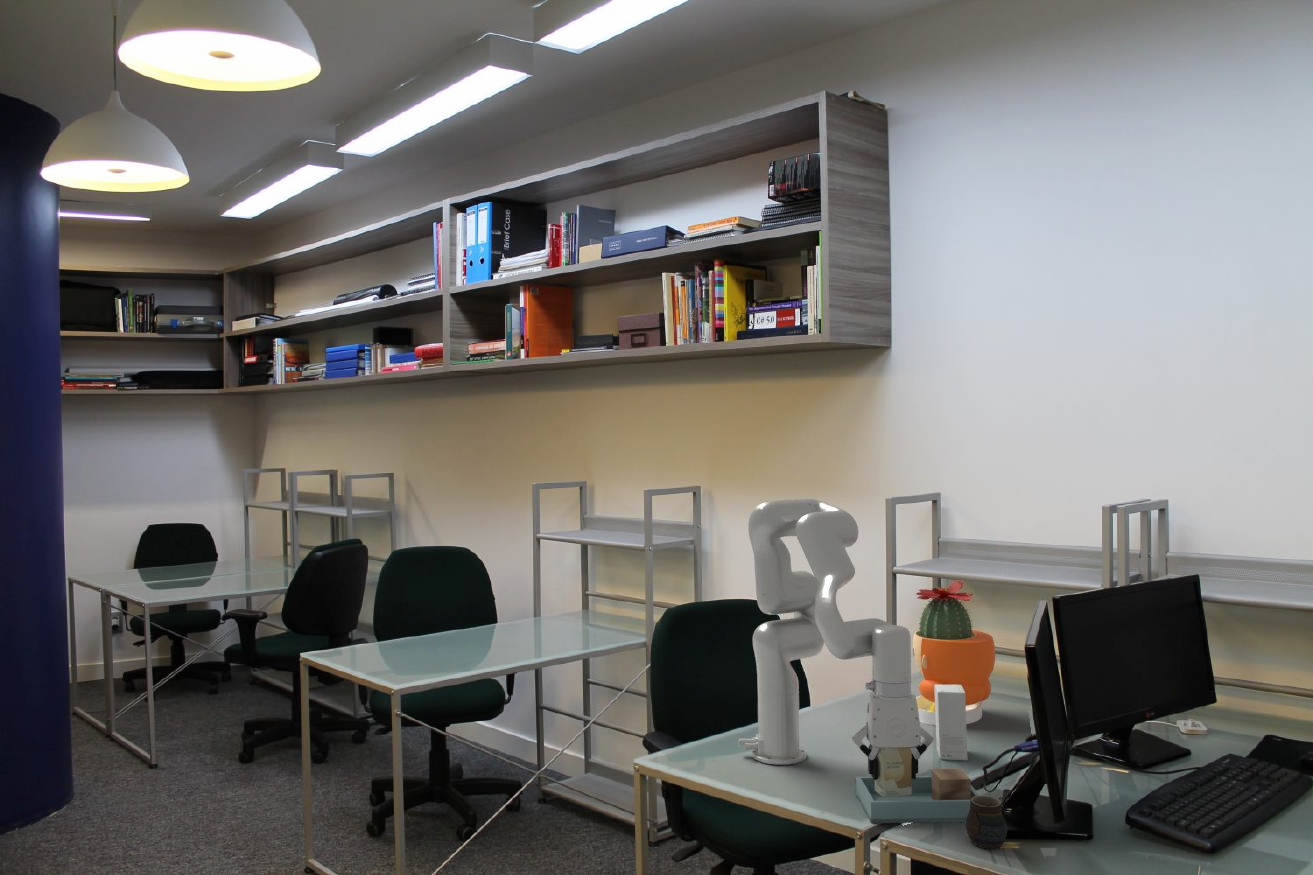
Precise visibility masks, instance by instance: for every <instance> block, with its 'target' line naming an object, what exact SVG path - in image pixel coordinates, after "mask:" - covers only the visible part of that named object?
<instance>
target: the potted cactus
mask: <svg viewBox="0 0 1313 875" xmlns="http://www.w3.org/2000/svg"><path fill="white" fill-rule="evenodd" d="M963 585H964V582H962V581H961V580H954V581H953V583H951V584H950V585H949V586H946V587H945V588H944V587H943V586H941V588H940V586H938V587H937V588H935V587H934V588H931V589H918V591H919V592H916V593H915V595H916V596H918V597H917V599H919V600H922V601H923V600H927V601H928V602H927V604H926V605H925V607H921V609H922V612H919V614H920V615H921V617H919V616H918V622H917V625H919V627H918V629H917V630H916V631H914V634H913V638H912V639H913V642H912V651H913V657H914V660H915V663H916V665H917V668H918V670H919V672H920V673H921V674H922V676H923V678H924V679H923V680H922V681H921V682H920V683H919V686H918V690H919V692H920V694H921V695H919V696H918V695H917V696H916V700H917V705H918V712H919V721H920V723H922V724H925V725H931V726H936V718H935V688H934V687H935V685H962V687H963V689H964V692H965V703H966V725H969V724H972V723H973V724H974V723H976V722H977V721H979V720H981V719H982V717H983V701H986V700H988V698H989V697H990V696H991V693H992V685H991V682H990V677H991V675H992V673H993V671H994V667H995V663H996V648H995V641H994V637H993V635H990V634H989V633H986V632H983V631H981V630H980V631H979V630H975V629H973V622H972V621H974V619H972V618H971V617H972V616H971V614H970V612H969V609H968V608H966V603H965V602H967V601H970V600H972V596H973V595H974V594H973V592H972V593H968V594H967V592H959V591H960V590H961V589H962V588H963Z"/></svg>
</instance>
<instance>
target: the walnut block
mask: <svg viewBox="0 0 1313 875" xmlns="http://www.w3.org/2000/svg"><path fill="white" fill-rule="evenodd" d="M931 776H932V800H971V786H972V785H971V782H972V781H971V778H970V777H969V776H968V775H967V774H966V773H965V771H964V770H963V769H962V768H931Z"/></svg>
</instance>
